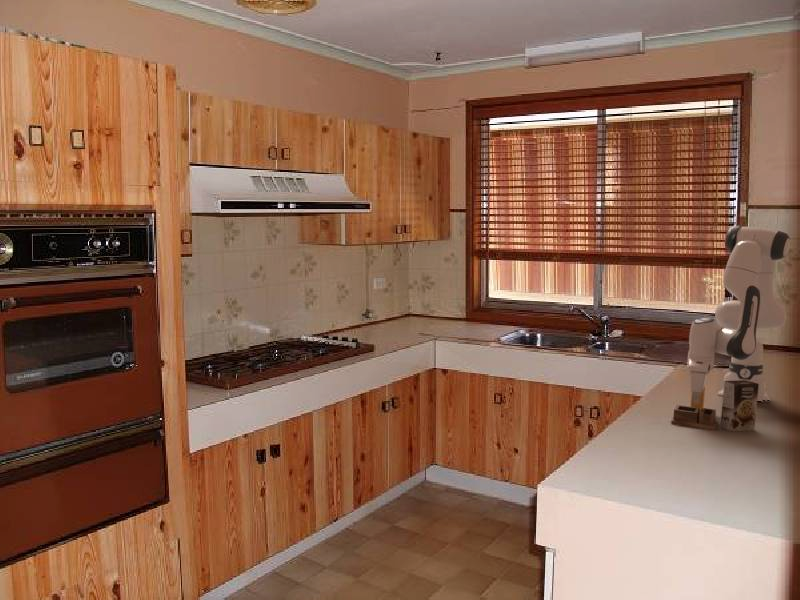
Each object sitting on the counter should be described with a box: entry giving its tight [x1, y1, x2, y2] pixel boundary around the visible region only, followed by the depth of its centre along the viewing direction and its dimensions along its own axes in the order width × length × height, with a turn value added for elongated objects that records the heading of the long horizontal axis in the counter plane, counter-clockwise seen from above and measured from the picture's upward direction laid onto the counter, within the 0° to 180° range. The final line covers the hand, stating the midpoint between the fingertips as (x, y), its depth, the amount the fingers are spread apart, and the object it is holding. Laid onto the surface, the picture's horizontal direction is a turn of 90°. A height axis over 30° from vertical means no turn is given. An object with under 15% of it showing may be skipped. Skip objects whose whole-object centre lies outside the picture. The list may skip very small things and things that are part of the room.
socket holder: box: [670, 404, 719, 431], centre depth 247 cm, size 12×14×4 cm
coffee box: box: [720, 380, 759, 432], centre depth 241 cm, size 9×6×16 cm
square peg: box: [690, 386, 706, 416], centre depth 257 cm, size 4×4×10 cm
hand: (697, 400), depth 257 cm, fingers open, 8 cm apart
